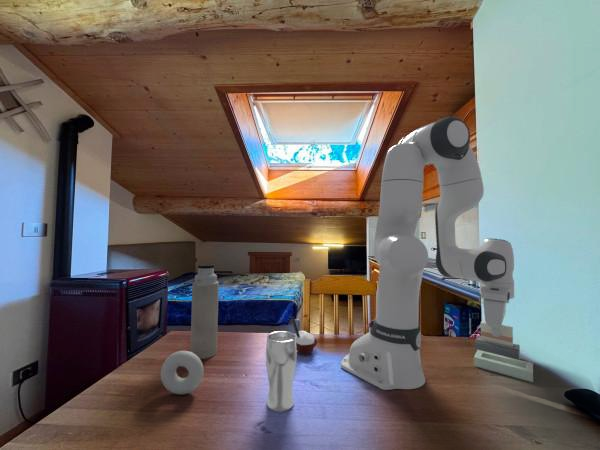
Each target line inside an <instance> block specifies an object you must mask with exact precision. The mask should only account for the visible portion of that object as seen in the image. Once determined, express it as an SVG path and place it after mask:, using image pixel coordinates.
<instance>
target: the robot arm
mask: <svg viewBox="0 0 600 450" xmlns="http://www.w3.org/2000/svg"><path fill="white" fill-rule="evenodd" d="M470 142H471V132H470V128H469V126H468V124H467V123H466V122H465V121H464V120H462V118H460V117H458V116H446V117H444V118H443V117H442V118H440V119H438V120H436V121H435V122H431V123H429V124H427V125H423V126H420V127H419V128H417V129H415V130H413V131H411V132H410V133H408V134H406V135H405V136H403V137H402V138H401V139H400V140H399V141H398V143H396V144H395V145H393V146H391V147H390V148H389V149H388V150H387V152H386V155H385V160H384V164H383V167H382V172H381V173H382V174H381V181H380V182H381V183H380V196H379V210H378V216H377V222H376V227H375V234H374V240H373V243H374V244H373V251H372V252H373V253H372V254H373V257H374V259H375V261H376V263H377V264H378V265H379V272H378V281H377V282H378V283H377V288H376V293H375V298H376V299H375V317H374V319H372V320H370V322H369V323H367V328H368V329H369V331H368V332H367V333H365V334H363V335H362V336H360V337H358V338H357V339H355V340H354V342H352V344H351V346H350V349H349V352H348V354H346V355H345V356H344V357H343V358H342V360H341V363H340V368H342V369H343V370H345V371H347V372H349V373H351V374H352V375H354V376H356V377H358V378H360V379H362V380H364V381H366V382H367V383H369V384H371V385H373V386H374V387H377V388H379V389H381V390H383V391H389V390H397V389H398V390H414V389H418V388H420V387H422V386H424V385H425V383H426V377H425V374H424V370H423V367H422V360H421V353H420V348H421V343H422V340H421V339H422V335H421V334H422V333H421V326H420V324H419V310H420V308H419V302H420V301H419V298H420V291H421V285H422V282H423V281H422V280H423V277H424V270H425V267H426V266H427V263H428V260H429V252H428V249H427V247H426V245H425V244H424V243H423V242H422V240H421V239H419V238H418V237H417V236H415V234H416V233H415V232H416V229H417V226H418V221H419V218H420V216H421V214H422V210H423V209H422V208H423V196H424V195H423V193H424V192H423V191H424V175H425V173H424V169H425V166H426V165H433V167H434V168H435V169H436V171H437V178H438V185H439V190H440V191H439V195H440V197H439V201H438V203H437V204H436V206H435V210H434V212H435V213H434V216H435V217H434V219H435V220H434V221H435V238H436V239H435V240H436V254H435V267H436V268H437V270H438V272H439V273H440V274H441V275H442V276H443V277H444V278H452V279H462V280H468V281H475V282H479V294H480V299H482V300H483V313H484V322H486V325H487V326H491V327H492V335H493V336H496V337H499V335H500V328H501V325H503V322H504V319H505V317H506V312H507V304H509V303H510V300H512V299H514V298H515V279H514V277H513V274H514V270H515V258H514V256H515V255H514V251H513V246H512V244H511V242H510V241H507V240H505V239H500V238H499V239H498V238H484V239H482V241H481V244H480V245H479V246H477V247H475V248H459V247H458V246H457V244H456V226H455V225H456V221H457V220H458V217H460V216H461V215H462V214H464V213H466V212H469V211H470V210H473V208H474V207H476V206H477V205H478V204H479V203H480V201H481V200H482V198H483V197H484V192H485V191H484V190H485V189H484V181H483V178H482V177H483V176H482V173H481V168H480V164H479V163H478V160H477V157H476V154H475V152H474V150H473V149H472V147H471V146H470Z"/></svg>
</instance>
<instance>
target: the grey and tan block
mask: <svg viewBox="0 0 600 450" xmlns="http://www.w3.org/2000/svg"><path fill="white" fill-rule="evenodd" d="M474 346H475V347H474V348H475V349H474V351H475V354H476V352H477V350H481V351H485V352H489V353H493V354H497V355H502V356H506V357H510V358H514V359H518V360H521V355H520V354H521V350H520V347H521V345H520V344H516V343H513V347H512V346H507V345H503V344H498V343H494V342H489V341H485V340H481V335H480V336H479V335H478V336H477V338H476V339H475V343H474ZM475 354H474V355H475Z"/></svg>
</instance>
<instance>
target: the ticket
mask: <svg viewBox="0 0 600 450" xmlns="http://www.w3.org/2000/svg"><path fill="white" fill-rule="evenodd" d="M513 332H514V327H513V326H511V325H510V326H509V325H504V324H502V325H501V328H500V335H499V337H496V336H493V335H492V327H491V326H487V325H486V322H485V321H483V320H482V321H480V337H481V340H485V341H489V342H494V343H498V344H503V345H507V346H512V347H513V344H514V336H513V334H514V333H513Z"/></svg>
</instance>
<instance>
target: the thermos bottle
mask: <svg viewBox="0 0 600 450" xmlns="http://www.w3.org/2000/svg"><path fill="white" fill-rule="evenodd" d="M197 268H198V269H197V274H196V275H194V279H193V280H194V281H193V282H192V283H191V284H192V286H191V287H192V289H191V313H190V315H191V316H190V317H191V320H190V325H191V326H190V351H189V352H192V353H194V354H196V355H197V356H198V357H199V358H200V360H201V359H202V360H203V359H204V360H205V359H209V358H211V357H213V356H215V355H217V353H218V326H219V325H218V319H219V318H218V317H219V286H220V285H219V281H218V280H217V278H218V275H217V274H215V269H214V268H215V265H214V264H206V263H205V264H198V265H197Z"/></svg>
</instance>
